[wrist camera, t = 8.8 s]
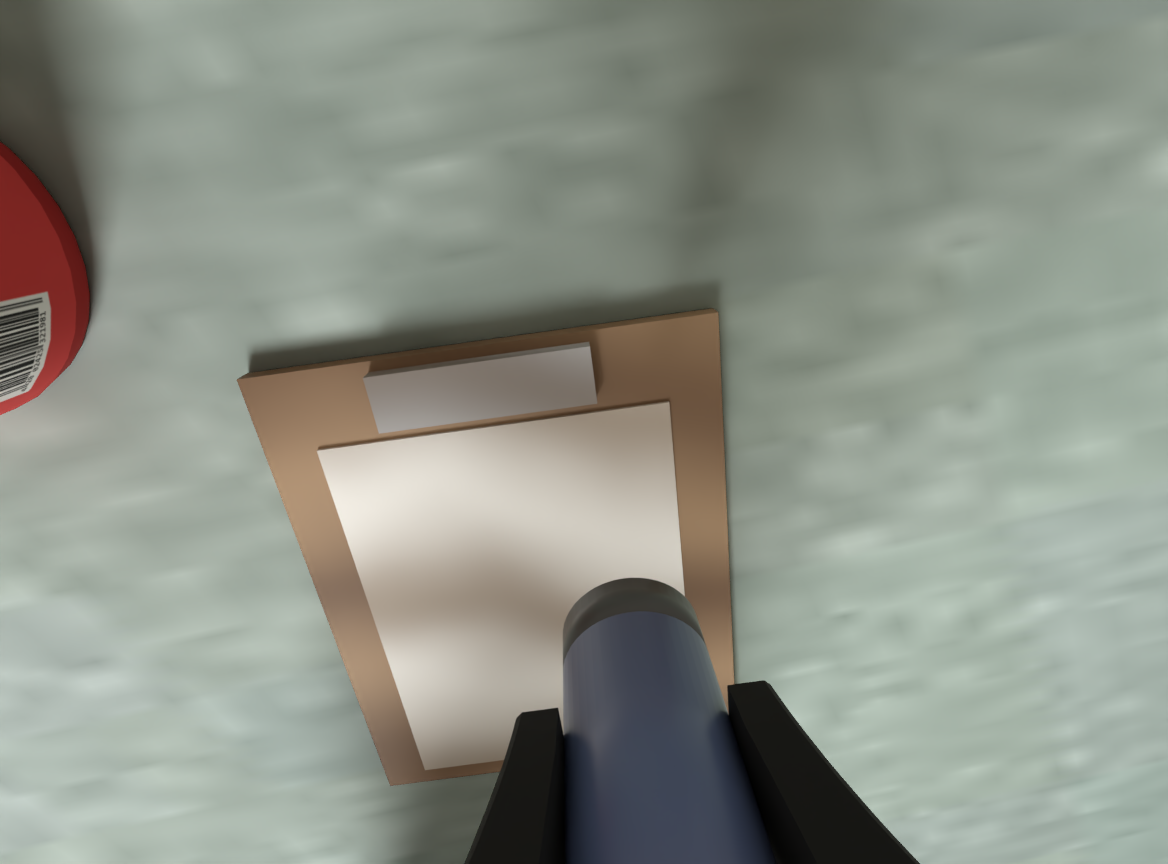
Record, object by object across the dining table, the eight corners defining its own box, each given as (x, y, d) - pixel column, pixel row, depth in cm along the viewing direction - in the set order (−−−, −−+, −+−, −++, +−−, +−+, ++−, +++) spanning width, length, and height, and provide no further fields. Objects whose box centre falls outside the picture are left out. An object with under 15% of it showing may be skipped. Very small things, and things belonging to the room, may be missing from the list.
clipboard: (731, 727, 22) (740, 753, 21) (394, 770, 23) (386, 798, 22) (712, 308, 16) (723, 316, 15) (247, 372, 16) (227, 385, 15)
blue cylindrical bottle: (706, 676, 13) (936, 1432, 5) (572, 697, 13) (595, 1473, 5) (693, 564, 12) (965, 1314, 4) (547, 587, 12) (528, 1370, 4)
